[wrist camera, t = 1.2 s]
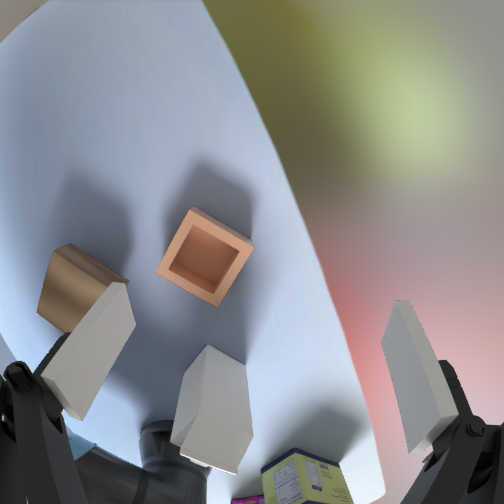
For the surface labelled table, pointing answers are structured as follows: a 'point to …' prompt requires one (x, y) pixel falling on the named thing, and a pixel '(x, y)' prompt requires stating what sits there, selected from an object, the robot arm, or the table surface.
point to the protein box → (304, 480)
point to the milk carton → (214, 412)
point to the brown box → (73, 287)
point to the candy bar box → (250, 500)
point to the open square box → (205, 256)
